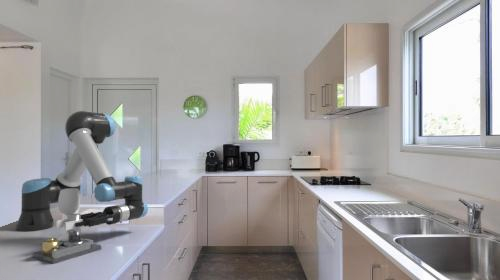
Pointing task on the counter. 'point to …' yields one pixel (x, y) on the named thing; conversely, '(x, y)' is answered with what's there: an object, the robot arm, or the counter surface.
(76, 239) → the flanged metal post
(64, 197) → the wineglass
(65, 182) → the robot arm
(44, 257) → the carrier plate
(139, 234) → the counter surface
